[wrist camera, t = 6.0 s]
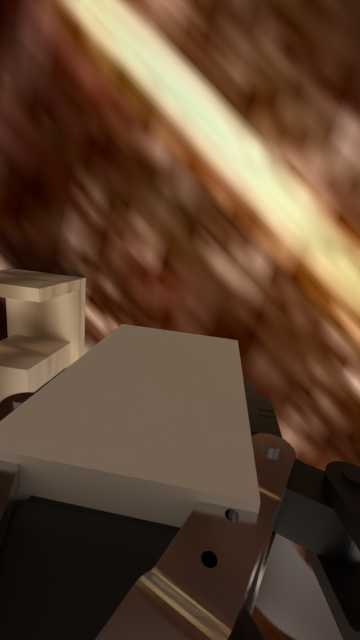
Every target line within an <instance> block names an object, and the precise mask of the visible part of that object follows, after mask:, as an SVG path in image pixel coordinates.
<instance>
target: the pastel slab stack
mask: <svg viewBox="0 0 360 640" xmlns="http://www.w3.org/2000/svg"><path fill="white" fill-rule="evenodd" d="M85 287H86V278H84V277H76V276H68V275H60V274H52V273H44V272H36V271H28V270H20V269H6V270H0V297H3V298H6V309H7V329H8V338H6V339H3V340H1V341H0V402H1V401H2V400H3V399H4V398H6V397H8V396H10V395H13V394H17V393H23V392H35V391H36V390H38V389H39V388H40V387H41V386H43V385H44V384H45V383H47V382H48V381H49V380H51V379H52V378H53V377H54V376H57V374H58V373H59V372H61V371H62V370H63V369H65V368H67V367H69V366H70V365H71V364H73V363H74V362H75V361H76V360H78V359H79V358H80V357H81V356H83V355H84V336H85Z"/></svg>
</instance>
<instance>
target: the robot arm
mask: <svg viewBox="0 0 360 640" xmlns="http://www.w3.org/2000/svg"><path fill="white" fill-rule="evenodd" d="M67 368H68V367H67ZM65 369H66V368H65ZM65 369H63V370H62V371H61V372H63V371H64V370H65ZM61 372H59V373H58V374H57V376H58V375H59V374H60V373H61ZM55 377H56V376H54V377H53V378H52V379H51V380H53V379H54V378H55ZM51 380H49V381H48V382H47V383H45V384H44V385H43V386H41V387H40V388H39V389H38V390H36V391H35V392H23V393H17V394H13V395H10V396H8V397H6V398H4V399H3V400H2V401H1V402H0V421H1V420H3V419H4V418H5V417H6V416H8V415H9V414H10V413H11V412H13V411H14V410H15V409H16V408H18V407H19V406H20V405H21V404H23V403H24V402H25V401H26V400H28V399H29V398H30V397H31V396H33V395H34V394H35V393H36V392H38V391H39V390H40V389H41V388H43V387H44V386H45V385H46V384H48V383H49V382H50V381H51ZM243 382H244V389H245V396H246V403H247V410H248V417H249V424H250V431H251V438H252V445H253V452H254V459H255V466H256V473H257V481H258V488H259V495H260V502H261V503H260V508H259V512H258V513H255V512H250V511H245V510H241V509H236V508H231V507H226V506H221V505H216V504H211V503H206V502H202V501H199V502H198V504H197V505H196V506H195V508H194V509H193V511H192V512H191V514H190V515H189V517H188V518H187V520H186V521H185V523H184V524H183V526H182V527H181V528H180V527H175V526H171V525H166V524H161V523H157V522H152V521H148V520H143V519H138V518H134V517H129V516H125V515H120V514H115V513H111V512H106V511H102V510H97V509H92V508H88V507H83V506H78V505H74V504H69V503H65V502H60V501H55V500H51V499H46V498H42V497H37V496H32V495H30V497H29V498H28V499H23V500H16V498H17V494H18V491H19V488H20V469H19V464H17V463H12V462H7V461H2V460H0V640H266V639H265V637H264V636H263V634H262V632H261V631H260V629H259V627H258V626H257V624H256V622H255V621H254V619H253V617H252V616H251V615H252V611H253V608H254V604H255V601H256V597H257V593H258V590H259V587H260V583H261V580H262V577H263V574H264V571H265V568H266V565H267V561H268V558H269V555H270V552H271V549H272V546H273V543H274V539H275V536H276V533H277V534H279V535H281V536H283V537H285V538H287V539H289V540H291V541H293V542H295V543H297V544H299V545H301V546H302V547H304V548H305V552H306V555H307V557H308V559H309V562H310V564H311V566H312V568H313V571H314V573H315V575H316V578H317V580H318V582H319V585H320V587H321V589H322V591H323V594H324V596H325V598H326V601H327V603H328V605H329V608H330V610H331V612H332V614H333V617H334V619H335V621H336V623H337V626H338V628H339V630H340V633H341V635H342V637H343V640H360V467H358V466H355V465H353V464H350V463H347V462H341V461H334V462H330V463H329V464H327V466H326V469H325V471H323V470H320V469H318V468H315V467H313V466H310V465H308V464H305V463H303V462H302V461H300V460H298V459H297V458H295V457H296V453H295V450H294V449H293V447H292V446H291V445H290V444H289V443H288V442H287V441H285V440H284V439H282V435H281V432H280V429H279V425H278V422H277V419H276V415H275V413H274V409H273V405H272V403H271V402H270V401H269V400H268V399H267V398H266V397H265V396H263V395H257V394H255V390H254V385H253V382H249V381H243Z"/></svg>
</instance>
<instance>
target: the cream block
mask: <svg viewBox="0 0 360 640" xmlns="http://www.w3.org/2000/svg"><path fill="white" fill-rule="evenodd" d="M0 460H2V461H7V462H12V463H17V464H19V469H20V488H19V491H18V494H17V498H16V500H23V499H28V498H29V497H30V495H32V496H37V497H42V498H46V499H51V500H55V501H60V502H65V503H69V504H74V505H78V506H83V507H88V508H92V509H97V510H102V511H106V512H111V513H115V514H120V515H125V516H129V517H134V518H138V519H143V520H148V521H152V522H157V523H161V524H166V525H171V526H175V527H180V528H181V527H182V526H183V524H184V523H185V521H186V520H187V518H188V517H189V515H190V514H191V512H192V511H193V509H194V508H195V506H196V505H197V504H198V502H199V501H202V502H206V503H211V504H216V505H221V506H226V507H231V508H236V509H241V510H245V511H250V512H255V513H258V512H259V508H260V503H261V502H260V495H259V488H258V481H257V473H256V466H255V459H254V452H253V445H252V438H251V431H250V424H249V417H248V410H247V403H246V396H245V389H244V382H243V375H242V368H241V361H240V354H239V347H238V340H231V339H224V338H217V337H210V336H203V335H196V334H188V333H181V332H174V331H167V330H160V329H153V328H146V327H139V326H132V325H125V324H122V325H120V326H119V327H118V328H117V329H115V330H114V331H113V332H112V333H110V334H109V335H108V336H107V337H105V338H104V339H103V340H101V341H100V342H99V343H98V344H96V345H95V346H94V347H93V348H91V349H90V350H89V351H88V352H86V353H85V354H84V355H83V356H81V357H80V358H79V359H78V360H76V361H75V362H74V363H73V364H71V365H70V366H69V367H68V368H66V369H65V370H64V371H63V372H61V373H60V374H59V375H58V376H56V377H55V378H54V379H53V380H51V381H50V382H49V383H48V384H46V385H45V386H44V387H43V388H41V389H40V390H39V391H38V392H36V393H35V394H34V395H33V396H31V397H30V398H29V399H28V400H26V401H25V402H24V403H23V404H21V405H20V406H19V407H18V408H16V409H15V410H14V411H13V412H11V413H10V414H9V415H8V416H6V417H5V418H4V419H3V420H1V421H0Z"/></svg>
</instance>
